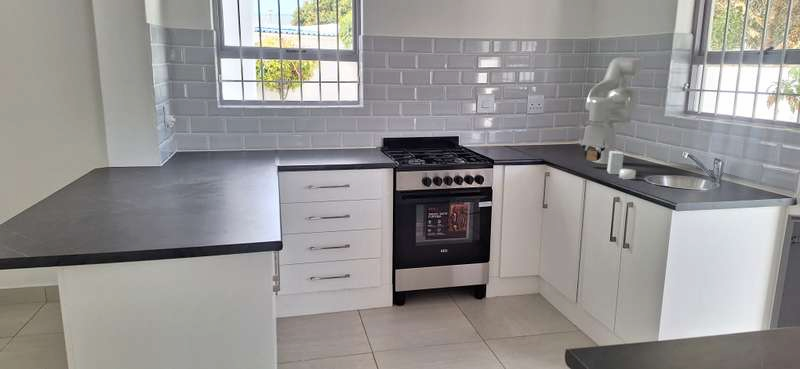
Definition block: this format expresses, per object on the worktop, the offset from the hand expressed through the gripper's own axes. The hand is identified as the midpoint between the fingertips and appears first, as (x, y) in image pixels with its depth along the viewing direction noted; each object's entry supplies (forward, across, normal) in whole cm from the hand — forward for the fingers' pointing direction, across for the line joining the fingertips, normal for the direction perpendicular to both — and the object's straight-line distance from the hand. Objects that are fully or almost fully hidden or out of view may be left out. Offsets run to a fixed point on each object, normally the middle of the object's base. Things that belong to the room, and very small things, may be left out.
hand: (592, 158), depth 290 cm
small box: (+5, +13, -8) cm, 16 cm away
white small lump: (+4, +21, -17) cm, 27 cm away
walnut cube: (+1, 0, 0) cm, 1 cm away
